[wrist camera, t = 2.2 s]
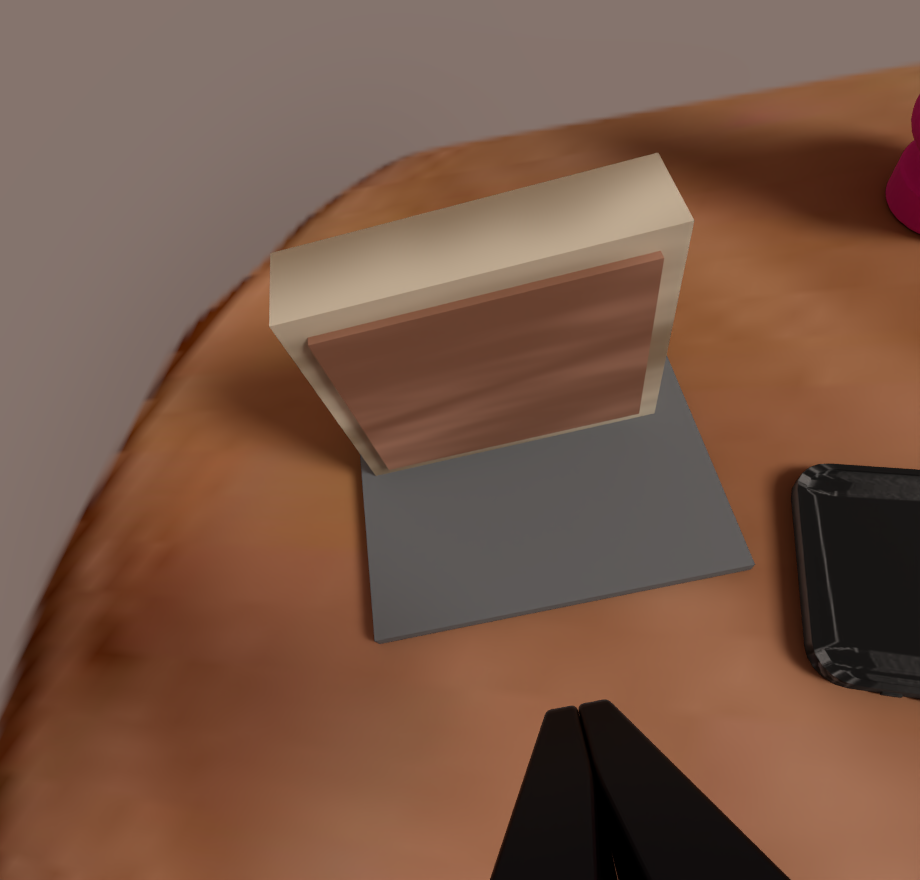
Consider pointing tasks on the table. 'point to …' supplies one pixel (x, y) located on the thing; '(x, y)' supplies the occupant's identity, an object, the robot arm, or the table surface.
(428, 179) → the table surface
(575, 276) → the small wooden box
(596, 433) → the rubber mat
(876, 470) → the phone
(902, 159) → the pepper mill
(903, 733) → the table surface
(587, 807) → the robot arm
